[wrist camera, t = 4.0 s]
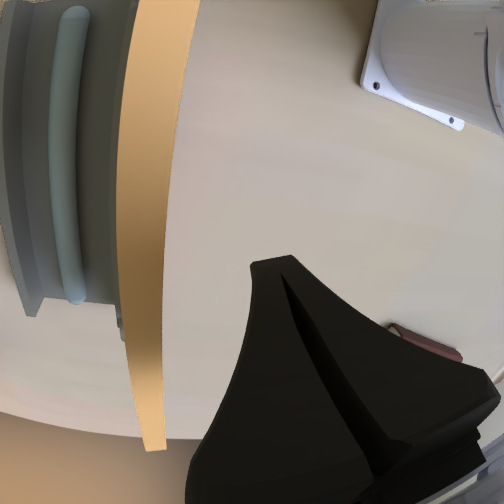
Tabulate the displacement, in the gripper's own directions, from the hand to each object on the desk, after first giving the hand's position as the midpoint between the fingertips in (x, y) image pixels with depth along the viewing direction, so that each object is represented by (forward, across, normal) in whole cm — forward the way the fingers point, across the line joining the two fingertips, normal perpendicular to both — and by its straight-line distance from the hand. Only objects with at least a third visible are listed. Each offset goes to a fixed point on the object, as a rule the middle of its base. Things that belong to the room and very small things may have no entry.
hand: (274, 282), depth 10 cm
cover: (+2, +5, -2) cm, 6 cm away
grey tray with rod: (+10, +10, -3) cm, 14 cm away
